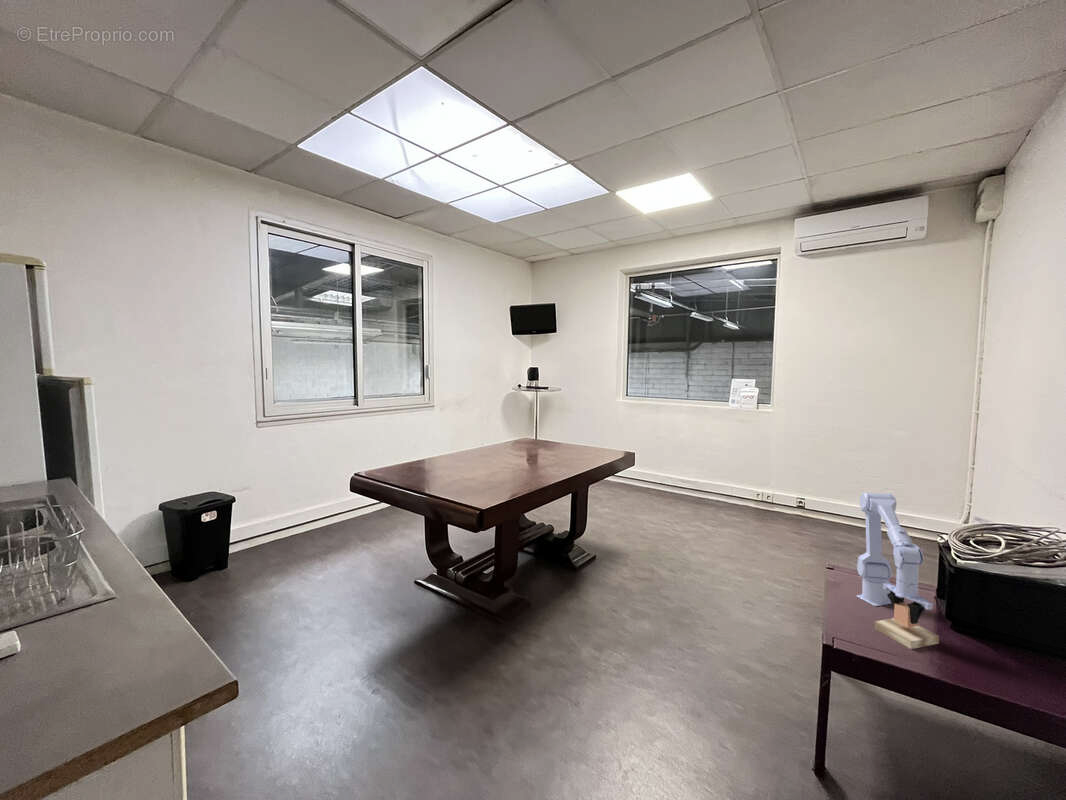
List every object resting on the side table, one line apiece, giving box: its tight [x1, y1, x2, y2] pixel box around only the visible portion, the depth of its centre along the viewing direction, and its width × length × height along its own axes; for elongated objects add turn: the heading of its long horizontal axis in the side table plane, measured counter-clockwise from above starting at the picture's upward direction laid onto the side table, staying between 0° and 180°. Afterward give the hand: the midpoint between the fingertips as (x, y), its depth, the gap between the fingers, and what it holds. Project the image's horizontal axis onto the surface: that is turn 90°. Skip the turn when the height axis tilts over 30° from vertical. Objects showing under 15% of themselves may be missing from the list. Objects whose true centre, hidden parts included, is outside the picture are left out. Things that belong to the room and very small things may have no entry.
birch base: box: [874, 617, 940, 650], centre depth 149 cm, size 12×12×3 cm
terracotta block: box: [893, 602, 919, 628], centre depth 149 cm, size 4×4×6 cm
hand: (906, 618), depth 149 cm, fingers closed on terracotta block, 4 cm apart
